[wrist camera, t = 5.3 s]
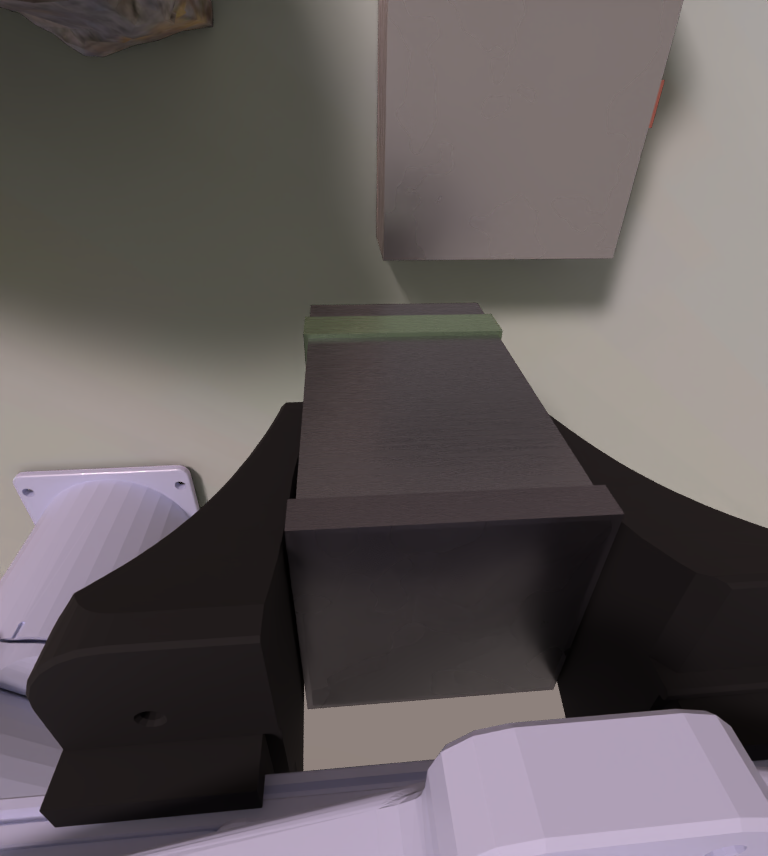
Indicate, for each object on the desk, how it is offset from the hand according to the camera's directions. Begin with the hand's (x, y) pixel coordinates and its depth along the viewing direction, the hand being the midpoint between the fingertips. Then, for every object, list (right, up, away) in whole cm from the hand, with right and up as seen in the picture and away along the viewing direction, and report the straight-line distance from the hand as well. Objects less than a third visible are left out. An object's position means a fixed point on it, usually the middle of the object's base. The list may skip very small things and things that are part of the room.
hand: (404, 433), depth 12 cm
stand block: (+3, +11, +5) cm, 13 cm away
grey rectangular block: (0, +2, +2) cm, 3 cm away
